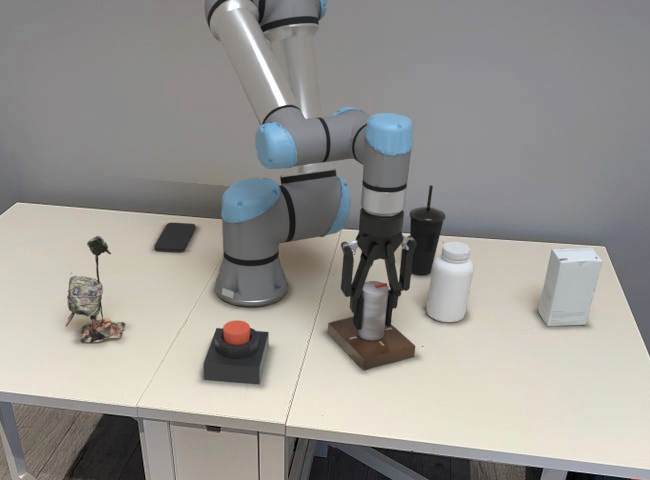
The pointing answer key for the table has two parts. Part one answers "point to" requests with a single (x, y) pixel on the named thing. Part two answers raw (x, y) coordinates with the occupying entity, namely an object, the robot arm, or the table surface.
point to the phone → (175, 237)
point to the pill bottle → (450, 283)
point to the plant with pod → (91, 301)
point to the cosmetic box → (569, 286)
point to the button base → (236, 358)
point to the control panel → (371, 344)
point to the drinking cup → (425, 236)
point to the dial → (374, 310)
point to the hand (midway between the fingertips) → (371, 324)
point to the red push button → (236, 332)
